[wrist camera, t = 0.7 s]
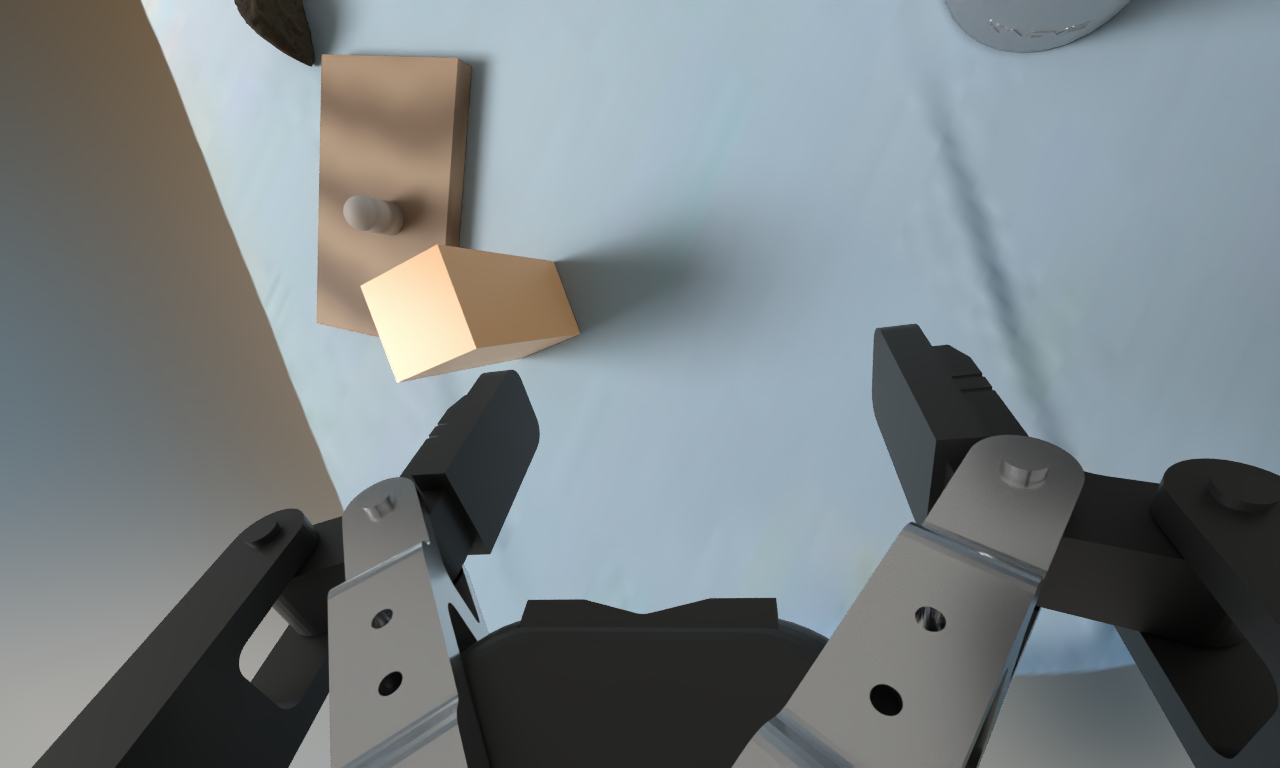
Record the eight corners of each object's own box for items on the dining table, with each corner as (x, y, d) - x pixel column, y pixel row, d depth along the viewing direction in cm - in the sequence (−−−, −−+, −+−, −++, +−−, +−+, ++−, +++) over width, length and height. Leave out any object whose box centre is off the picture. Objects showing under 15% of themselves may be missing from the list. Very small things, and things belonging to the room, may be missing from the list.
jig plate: (339, 62, 40) (272, 29, 35) (471, 67, 36) (418, 31, 32) (332, 322, 44) (272, 325, 39) (451, 348, 41) (401, 354, 36)
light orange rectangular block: (493, 290, 39) (360, 285, 27) (553, 261, 37) (437, 244, 25) (519, 358, 39) (397, 382, 28) (580, 333, 37) (476, 348, 26)
